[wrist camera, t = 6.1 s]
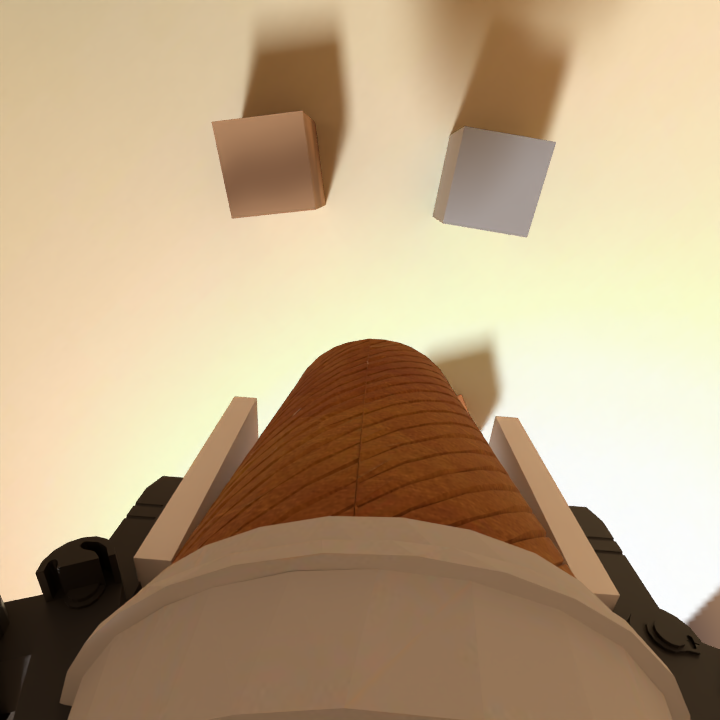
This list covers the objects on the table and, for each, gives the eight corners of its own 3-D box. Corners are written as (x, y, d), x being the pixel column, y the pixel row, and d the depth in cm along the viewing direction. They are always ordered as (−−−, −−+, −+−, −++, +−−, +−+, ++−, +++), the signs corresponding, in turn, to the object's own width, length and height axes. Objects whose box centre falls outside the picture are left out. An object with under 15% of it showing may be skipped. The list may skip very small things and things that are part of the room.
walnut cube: (239, 132, 27) (211, 122, 23) (315, 122, 27) (302, 110, 22) (254, 212, 29) (231, 218, 25) (325, 205, 29) (315, 209, 24)
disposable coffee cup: (431, 243, 14) (648, 531, 3) (532, 455, 17) (815, 972, 6) (202, 368, 16) (-186, 803, 5) (330, 534, 19) (268, 1020, 8)
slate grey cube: (449, 135, 27) (464, 126, 22) (525, 148, 27) (555, 142, 22) (432, 216, 29) (442, 223, 24) (503, 228, 29) (526, 237, 24)
